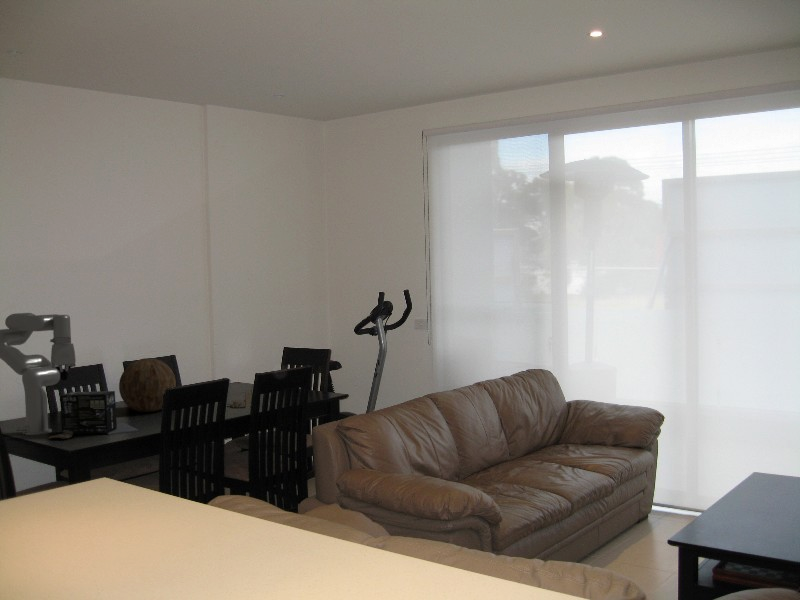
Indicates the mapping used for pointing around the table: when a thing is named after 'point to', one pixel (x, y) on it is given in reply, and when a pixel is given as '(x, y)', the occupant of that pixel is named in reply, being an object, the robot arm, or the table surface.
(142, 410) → the decorative sphere
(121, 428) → the mat
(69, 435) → the ceramic fragment
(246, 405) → the dollhouse furniture set
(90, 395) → the box
